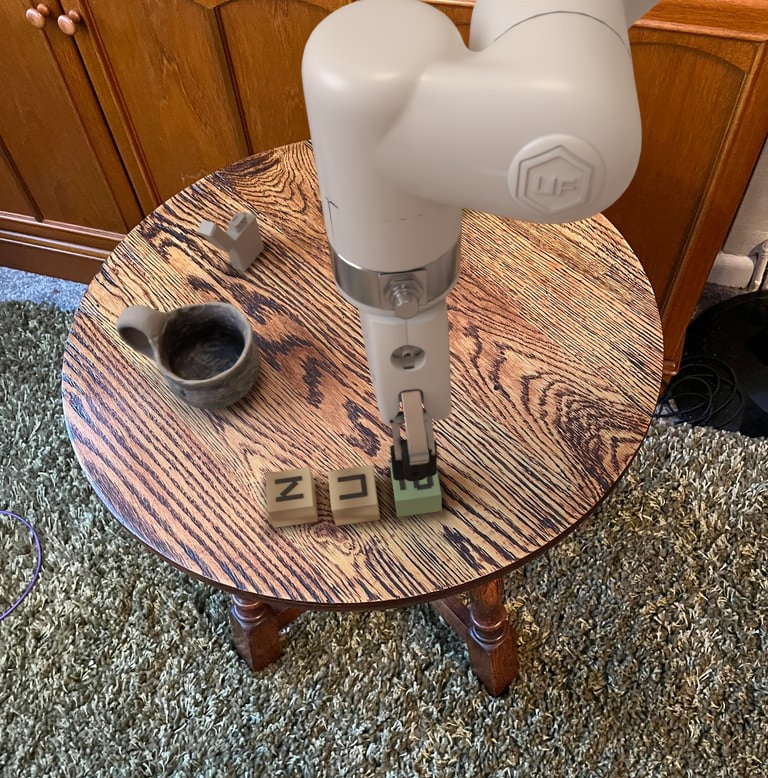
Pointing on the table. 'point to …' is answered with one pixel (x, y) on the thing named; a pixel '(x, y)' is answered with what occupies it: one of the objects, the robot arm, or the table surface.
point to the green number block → (417, 495)
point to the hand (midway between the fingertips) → (406, 421)
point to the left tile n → (291, 497)
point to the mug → (196, 350)
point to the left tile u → (353, 495)
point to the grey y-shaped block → (236, 239)
